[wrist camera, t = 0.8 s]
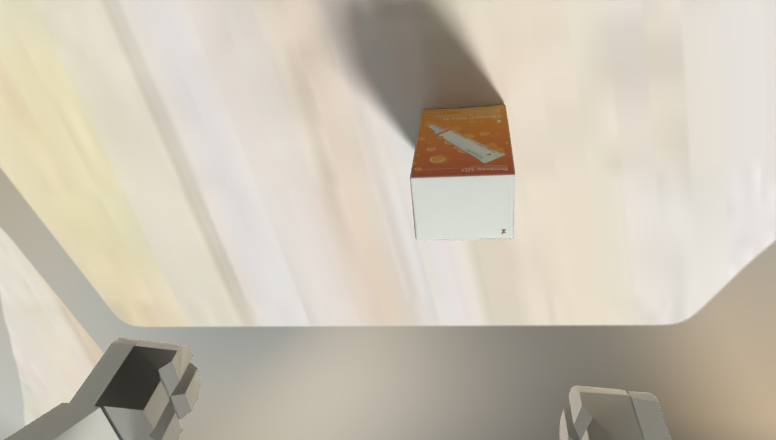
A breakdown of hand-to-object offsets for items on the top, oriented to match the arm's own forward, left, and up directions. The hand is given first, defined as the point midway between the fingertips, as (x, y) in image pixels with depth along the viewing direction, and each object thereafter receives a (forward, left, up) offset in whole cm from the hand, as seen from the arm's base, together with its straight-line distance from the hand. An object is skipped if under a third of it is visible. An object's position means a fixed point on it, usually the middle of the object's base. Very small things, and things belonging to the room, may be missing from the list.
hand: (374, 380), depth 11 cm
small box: (+10, +9, -39) cm, 42 cm away
